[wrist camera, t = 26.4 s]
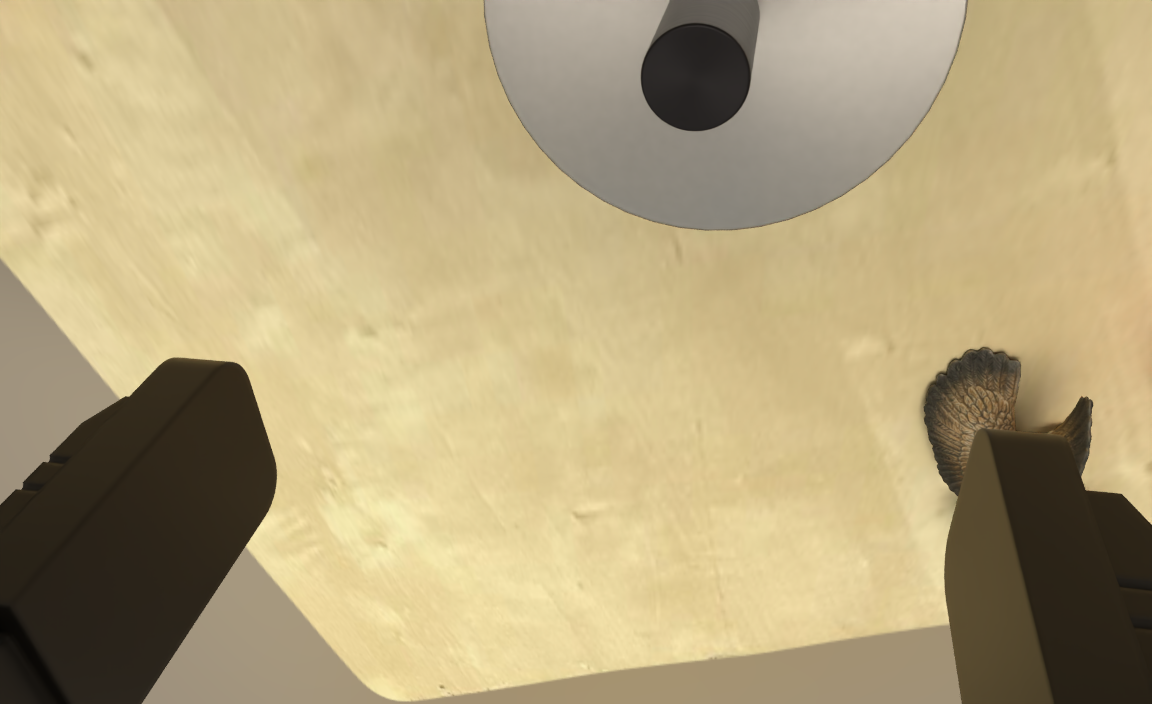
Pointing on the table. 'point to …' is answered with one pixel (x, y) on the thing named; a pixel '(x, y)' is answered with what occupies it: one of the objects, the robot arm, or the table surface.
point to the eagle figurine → (986, 411)
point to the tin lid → (722, 97)
